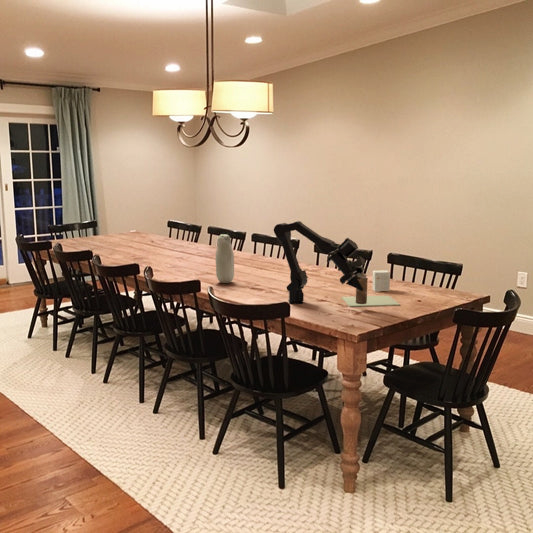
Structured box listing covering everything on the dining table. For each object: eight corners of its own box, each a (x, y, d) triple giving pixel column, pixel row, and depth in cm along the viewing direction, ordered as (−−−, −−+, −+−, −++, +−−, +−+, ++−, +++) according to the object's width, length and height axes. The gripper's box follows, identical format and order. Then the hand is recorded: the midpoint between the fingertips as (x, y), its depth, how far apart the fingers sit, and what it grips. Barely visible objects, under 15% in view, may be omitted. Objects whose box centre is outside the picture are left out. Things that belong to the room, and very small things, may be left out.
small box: (387, 289, 293) (387, 270, 292) (389, 291, 288) (390, 272, 286) (372, 289, 293) (372, 270, 291) (374, 292, 288) (375, 272, 286)
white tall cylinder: (237, 282, 316) (236, 233, 311) (226, 285, 308) (225, 235, 303) (224, 280, 322) (222, 232, 317) (212, 283, 314) (211, 234, 309)
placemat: (349, 306, 257) (349, 305, 257) (341, 298, 275) (341, 296, 275) (399, 305, 259) (399, 304, 259) (388, 296, 277) (388, 295, 277)
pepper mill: (357, 304, 249) (358, 273, 246) (354, 301, 253) (355, 271, 251) (367, 304, 249) (368, 273, 246) (365, 301, 254) (366, 271, 251)
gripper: (347, 254, 241) (370, 281, 238) (361, 249, 257) (383, 274, 254) (329, 270, 246) (352, 297, 243) (344, 264, 262) (366, 289, 259)
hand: (364, 289), depth 249 cm, fingers closed on pepper mill, 5 cm apart
